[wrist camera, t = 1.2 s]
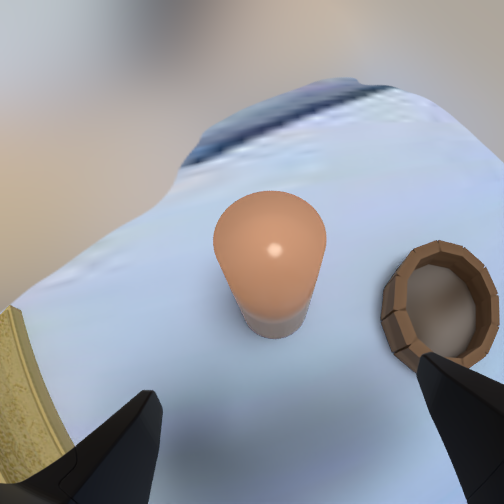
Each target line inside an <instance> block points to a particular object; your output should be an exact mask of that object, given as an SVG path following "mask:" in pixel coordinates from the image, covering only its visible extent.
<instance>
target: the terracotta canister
mask: <svg viewBox="0 0 504 504" xmlns="http://www.w3.org/2000/svg"><path fill="white" fill-rule="evenodd" d="M213 246H214V252H215V255H216V258H217V260H218V262H219V264H220V267H221V269H222V271H223V273H224V275H225V278H226V280H227V282H228V284H229V286H230V289H231V291H232V293H233V295H234V297H235V299H236V302H237V304H238V306H239V308H240V310H241V312H242V315H243V317H244V319H245V321H246V323H247V325H248V326H249V327H250V328H251V329H252V331H254V332H255V333H256V334H258V335H260V336H262V337H265V338H269V339H280V338H284V337H287V336H289V335H291V334H293V333H294V332H296V331H297V330H298V329H299V328H300V326H301V325H302V323H303V322H304V320H305V317H306V314H307V311H308V307H309V304H310V301H311V298H312V294H313V291H314V287H315V284H316V281H317V277H318V274H319V270H320V266H321V263H322V259H323V256H324V252H325V248H326V231H325V226H324V224H323V221H322V219H321V217H320V216H319V214H318V213H317V211H316V210H315V209H314V208H313V207H312V206H311V205H310V204H308V203H307V202H306V201H304V200H303V199H301V198H299V197H297V196H295V195H292V194H289V193H285V192H280V191H262V192H257V193H253V194H250V195H247V196H245V197H243V198H241V199H239V200H237V201H236V202H234V203H233V204H232V205H230V206H229V207H228V208H227V209H226V210H225V212H224V213H223V214H222V215H221V217H220V219H219V220H218V222H217V225H216V227H215V231H214V237H213Z"/></svg>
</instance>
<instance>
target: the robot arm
mask: <svg viewBox="0 0 504 504" xmlns="http://www.w3.org/2000/svg"><path fill="white" fill-rule="evenodd" d="M416 375H417V379H418V382H419V385H420V388H421V390H422V393H423V396H424V399H425V402H426V405H427V407H428V410H429V413H430V415H431V417H432V419H433V421H434V423H435V426H436V428H437V430H438V432H439V434H440V436H441V439H442V441H443V443H444V445H445V448H446V450H447V452H448V455H449V457H450V459H451V462H452V464H453V467H454V469H455V472H456V474H457V477H458V479H459V482H460V484H461V487H462V489H463V492H464V495H465V498H466V500H467V504H504V384H501V383H499V382H497V381H495V380H493V379H490V378H488V377H486V376H484V375H482V374H480V373H477V372H475V371H473V370H471V369H469V368H466V367H464V366H462V365H460V364H458V363H456V362H453V361H451V360H449V359H447V358H445V357H443V356H441V355H438V354H436V353H434V352H428V353H424V354H422V355H421V356H420V360H419V364H418V368H417V374H416ZM162 415H163V409H162V405H161V403H160V401H159V399H158V397H157V395H156V393H155V391H153V390H142V391H141V392H140V393H138V394H137V395H136V396H135V397H134V398H132V399H131V400H130V401H129V402H128V403H127V404H125V405H124V406H123V407H122V408H121V409H120V410H118V411H117V412H116V413H115V414H114V415H112V416H111V417H110V418H109V419H108V420H106V421H105V422H104V423H103V424H102V425H100V426H99V427H98V428H97V429H96V430H94V431H93V432H92V433H91V434H89V435H88V436H87V437H86V438H85V439H83V440H82V441H81V442H80V443H78V444H77V445H76V447H73V448H72V449H71V450H70V451H68V452H67V453H66V454H64V455H63V456H62V457H60V458H59V459H58V460H56V461H55V462H53V463H52V464H50V465H49V466H47V467H45V468H44V469H42V470H41V471H39V472H37V473H36V474H34V475H32V476H31V477H29V478H27V479H26V480H24V481H21V482H18V483H0V504H148V501H149V495H150V490H151V485H152V480H153V476H154V471H155V466H156V461H157V457H158V452H159V445H160V435H161V424H162Z"/></svg>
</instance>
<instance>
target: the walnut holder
mask: <svg viewBox="0 0 504 504" xmlns="http://www.w3.org/2000/svg"><path fill="white" fill-rule="evenodd" d="M496 294H498V292H497V290H496V288H495V285H494V283H493V281H492V279H491V277H490V274H489V272H488V270H487V268H486V267H485V268H484V264H483V263H482V262H481V261H480V260H478V259H477V258H476V257H475V256H474V255H473V254H472V253H471V252H469V251H468V250H467V249H466V248H465V247H464V248H463V246H460V245H456V244H452V243H448V242H444V241H440V240H438V241H437V240H436V241H433V242H430V243H428V244H425V245H422V246H420V247H417V248H414V249H413V250H412V251H411V252H410V253H409V255H408V256H407V257H406V259H405V260H404V261H403V262H402V264H401V265H400V266H399V268H398V269H397V271H396V272H395V273H394V275H393V276H392V278H391V279H390V281H389V282H388V283H387V285H386V286H385V289H384V291H383V302H382V312H381V320H382V322H381V324H382V327H383V329H384V332H385V335H386V337H387V340H388V343H389V345H390V348H391V351H392V352H394V355H395V356H396V357H397V358H398V359H400V360H401V361H402V362H403V363H404V364H405V365H407V366H408V367H409V368H410V369H411V370H413V371H414V372H415V373H417V368H418V364H419V360H420V356H421V355H422V354H424V353H428V352H434V353H436V354H438V355H441V356H443V357H445V358H447V359H449V360H451V361H453V362H456V363H458V364H460V365H462V366H464V367H466V368H470V367H471V366H473V365H474V364H476V363H477V362H479V361H480V360H481V359H483V358H484V357H485V356H486V354H488V352H489V350H490V348H491V346H492V343H493V341H494V339H495V336H496V334H497V332H498V329H499V327H498V326H499V296H498V295H496Z"/></svg>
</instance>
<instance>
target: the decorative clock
mask: <svg viewBox="0 0 504 504" xmlns="http://www.w3.org/2000/svg"><path fill="white" fill-rule="evenodd" d="M73 447H75V446H74V444H73V442H72V440H71V438H70V437H69V435H68V433H67V431H66V429H65V427H64V425H63V423H62V421H61V419H60V417H59V415H58V413H57V411H56V409H55V406H54V404H53V402H52V400H51V397H50V395H49V393H48V390H47V388H46V386H45V383H44V381H43V378H42V375H41V373H40V370H39V367H38V365H37V362H36V359H35V356H34V353H33V350H32V347H31V344H30V341H29V338H28V334H27V331H26V327H25V324H24V320H23V316H22V312H21V310H19V309H17V308H15V307H13V306H11V305H9V306H8V307H7V308H6V309H5V311H4V312H3V313H2V314H1V315H0V483H18V482H21V481H24V480H26V479H27V478H29V477H31V476H32V475H34V474H36V473H37V472H39V471H41V470H42V469H44V468H45V467H47V466H49V465H50V464H52V463H53V462H55V461H56V460H58V459H59V458H60V457H62V456H63V455H64V454H66V453H67V452H68V451H70V450H71V449H72V448H73Z"/></svg>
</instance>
